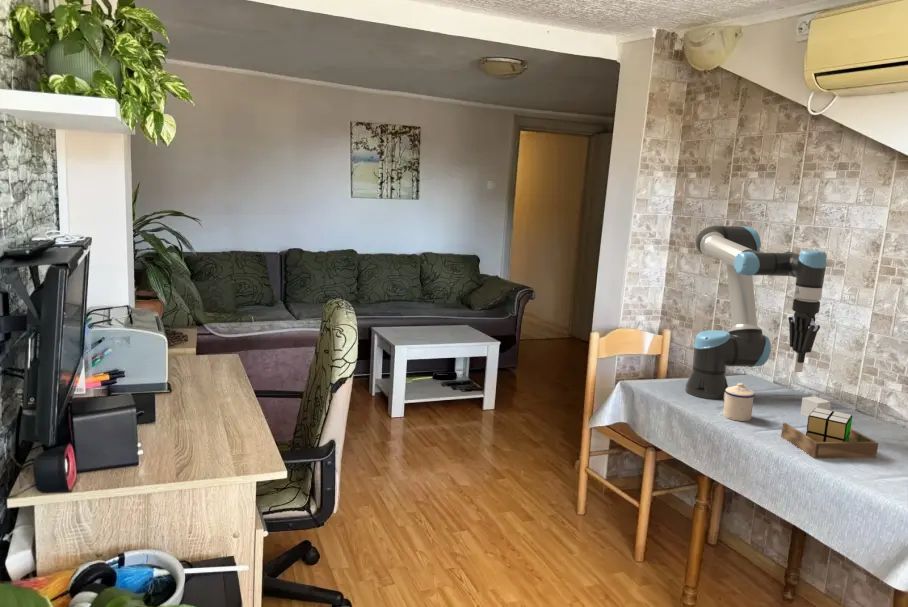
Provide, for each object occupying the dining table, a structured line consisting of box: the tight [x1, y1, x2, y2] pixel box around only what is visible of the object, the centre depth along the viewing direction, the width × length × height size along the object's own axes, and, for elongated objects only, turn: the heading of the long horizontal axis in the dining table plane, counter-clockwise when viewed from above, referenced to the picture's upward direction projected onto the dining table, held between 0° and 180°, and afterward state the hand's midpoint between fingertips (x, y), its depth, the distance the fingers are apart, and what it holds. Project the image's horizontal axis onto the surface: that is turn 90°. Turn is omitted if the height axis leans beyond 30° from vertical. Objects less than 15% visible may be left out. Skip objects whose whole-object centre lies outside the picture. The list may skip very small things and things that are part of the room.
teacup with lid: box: [722, 382, 756, 422], centre depth 216 cm, size 12×9×12 cm
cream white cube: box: [800, 395, 831, 418], centre depth 218 cm, size 6×6×6 cm
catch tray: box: [780, 422, 879, 459], centre depth 191 cm, size 16×19×4 cm
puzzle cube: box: [805, 408, 853, 442], centre depth 191 cm, size 10×10×10 cm
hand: (796, 371), depth 207 cm, fingers closed
